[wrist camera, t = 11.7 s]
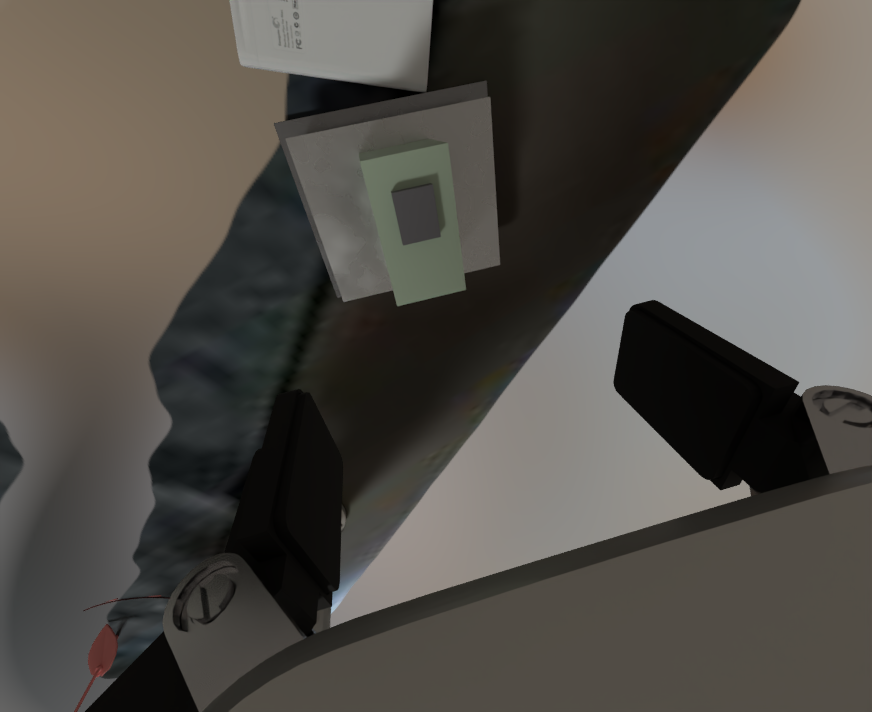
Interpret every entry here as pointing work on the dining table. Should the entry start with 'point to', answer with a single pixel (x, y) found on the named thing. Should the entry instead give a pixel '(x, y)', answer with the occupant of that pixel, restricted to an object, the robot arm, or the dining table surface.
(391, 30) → the external hard drive
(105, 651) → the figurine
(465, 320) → the dining table surface
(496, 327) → the dining table surface
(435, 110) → the chassis
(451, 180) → the pale green block
